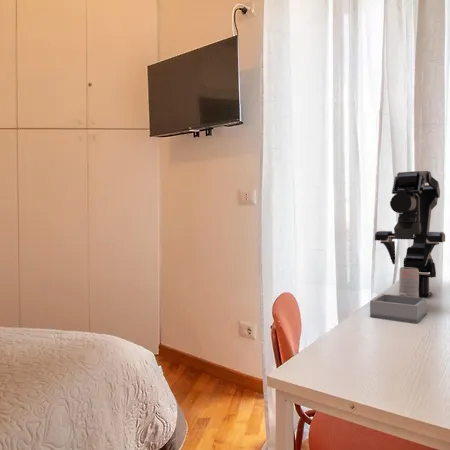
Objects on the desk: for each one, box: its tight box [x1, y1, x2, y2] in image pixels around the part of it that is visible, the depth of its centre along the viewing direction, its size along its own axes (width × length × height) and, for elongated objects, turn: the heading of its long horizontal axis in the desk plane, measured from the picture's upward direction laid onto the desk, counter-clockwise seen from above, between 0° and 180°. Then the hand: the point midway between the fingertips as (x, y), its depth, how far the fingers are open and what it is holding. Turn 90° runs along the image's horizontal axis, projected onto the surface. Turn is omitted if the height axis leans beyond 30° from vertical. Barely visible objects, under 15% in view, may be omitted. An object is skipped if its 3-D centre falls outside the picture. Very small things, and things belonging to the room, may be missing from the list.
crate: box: [369, 293, 428, 324], centre depth 113 cm, size 12×12×4 cm
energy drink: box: [398, 266, 420, 298], centre depth 123 cm, size 5×5×12 cm
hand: (408, 265), depth 122 cm, fingers open, 8 cm apart
